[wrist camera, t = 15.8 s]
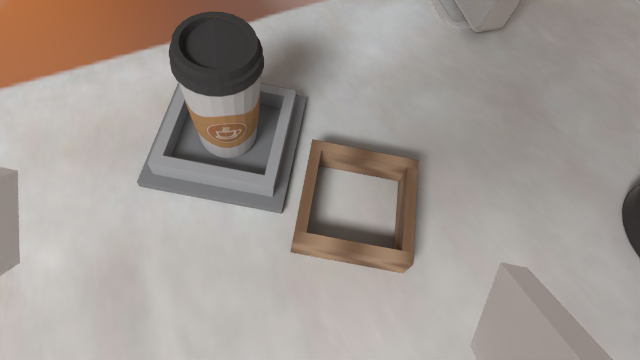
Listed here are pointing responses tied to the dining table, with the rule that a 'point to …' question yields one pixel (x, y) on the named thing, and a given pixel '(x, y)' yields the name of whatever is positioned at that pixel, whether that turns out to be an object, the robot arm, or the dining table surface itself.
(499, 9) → the network device
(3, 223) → the robot arm
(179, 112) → the dock pad
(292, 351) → the dining table surface
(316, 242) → the walnut holder
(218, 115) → the coffee cup
